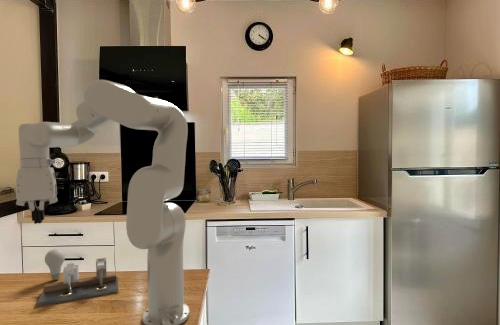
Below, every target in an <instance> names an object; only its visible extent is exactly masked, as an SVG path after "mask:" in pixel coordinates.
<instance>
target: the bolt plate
mask: <svg viewBox="0 0 500 325" xmlns="http://www.w3.org/2000/svg"><path fill="white" fill-rule="evenodd" d="M115 293H119V277H118V276H116V281H110V282H104V283H103V286H102V287H100V283H98V284H92V285H86V286H80V287H74V288H71V292H68V288H67V289H61V290H55V291H49V292H44V289H43V290H42V292H41V294H40V296H39V299H38V300H37V307H43V306H44V307H45V306H48V305H49V306H50V305H55V304H59V303H60V304H61V303H66V302H71V301H76V300H83V299H89V298H93V297H99V296H104V295H109V294H110V295H111V294H115Z"/></svg>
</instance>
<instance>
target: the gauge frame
mask: <svg viewBox="0 0 500 325" xmlns="http://www.w3.org/2000/svg"><path fill="white" fill-rule="evenodd" d="M95 270H96V276H90V277H85V278H79V279H78V282H74V283H71V288H74V287H80V286H86V285H92V284H98V283H100V287H102V286H103V283H104V282H110V281H116V277H117V273H110V274H107V257H99V258H96V260H95ZM67 288H68V283H67V284H64V281H58V282H52V283H45V284H44V286H43V290H44V292H49V291H55V290H61V289H67Z"/></svg>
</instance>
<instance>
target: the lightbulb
mask: <svg viewBox="0 0 500 325" xmlns="http://www.w3.org/2000/svg"><path fill="white" fill-rule="evenodd" d="M65 259H66V254H65V252H64V251H63V250H62V249H59V248H53V249H50V250H49V251H48V252H46V254H45V256H44V263H45V265H47V267H48V269H49V273H50V274H51V275H50V276H51V280H54V281H57V280H59V279H60V278H61V272H62V270H61V269H62V266H63V264H64V262H65Z"/></svg>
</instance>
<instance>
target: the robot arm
mask: <svg viewBox="0 0 500 325" xmlns="http://www.w3.org/2000/svg"><path fill="white" fill-rule="evenodd" d="M75 112H76V117H77V120H75V121H73V122H58V121H57V122H56V121H54V122H52V121H41V122H40V121H39V122H36V123H21V124H20V125H19V126H18V144H19V146H18V147H19V162H20V168H18V169H17V174H16V180H15V181H16V182H15V197H16V202H15V205H16V206H21V207H26V208H27V209H28V210H29V211H31V221H32V222H33V223H34V225H36V224H41V223H43V221H44V220H45V209H46V208H47V207H48V206H49V205H52V204H55V203H57V202H58V201H59V200H58V197H57V196H58V189H57V188H58V187H57V179H56V174H55V173H56V172H55V170H54V169H55V168H54V167H51V166H52V165H55V164H56V160H55V159H51V157H50V148H73V147H77V146H81V145H83V144H84V143H86V142H89V141H90V140H92V139H94V138H95V137H96V136H97V134H98V133H99V130H100V129H102V128H103V127H105V126H107V125H109V124H112V123H113V122H115V123H118V124H119V125H122V126H124V127H126V128H129V129H134V130H142V131H143V130H144V131H145V130H146V131H156V132H157V134H158V135H157V137H156V139H155V141H154V145H153V149H152V162H151V165H148V166H144V167H141V168H140V169H138V170H136V172H134V174H132V177H131V179H130V180H129V184H128V188H127V204H126V219H125V220H126V224H125V227H126V228H125V230H126V235H127V238H128V240H129V242H130V243H131V245H132V246H133V247H135V248H137V249H138V250H147V253H146V254H147V256H146V257H147V260H146V261H147V262H146V263H147V264H146V265H147V267H146V268H147V309H145V310H144V312H143V313H142V324H144V325H181V324H183V323H185V321H186V320H188V318H189V317H190V314H191V313H190V311H191V310H190V307H189V305H187V304H186V303H184V302H185V298H184V297H185V296H184V295H185V293H184V291H185V290H184V288H185V287H184V240H185V233H186V226H187V225H186V223H187V222H186V215H185V212H184V210H183V209H182V207H181V206H179V205H178V204H176V203H174V202H166V201H170V200H172V199H174V198H177V197H178V196H180V195H181V193H182V191H183V189H184V184H185V170H186V168H185V167H186V153H187V142H188V132H189V130H188V129H189V128H188V121H187V118H186V116H185V115H184V113H183V111H182V110H181V109H180V108H178V106H176V105H174V104H173V103H171V102H168V101H167V100H163V99H161V98H156V97H155V98H154V97H150V96H147V95H142V94H139V93H137V92H135V91H134V90H133V89H132V88H130V87H129V86H127V85H125V84H121V83H118V82H114V81H111V80H107V79H97V80H93V81H92V82H89V84H88V85H86V87H85V89H84V92H83V101H81V102H80V103H79V104H78V105H77V106H76V109H75ZM37 201H39V206H38V207H37V204H36V202H37Z"/></svg>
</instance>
